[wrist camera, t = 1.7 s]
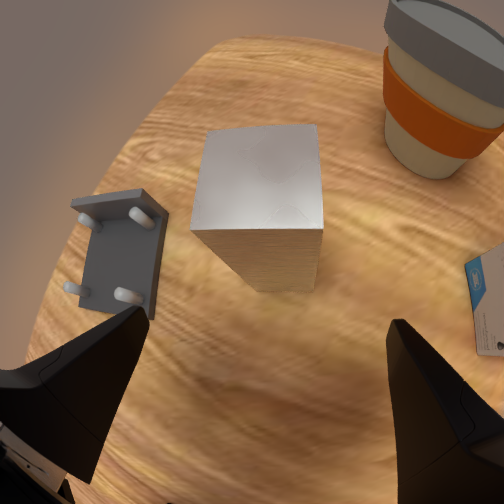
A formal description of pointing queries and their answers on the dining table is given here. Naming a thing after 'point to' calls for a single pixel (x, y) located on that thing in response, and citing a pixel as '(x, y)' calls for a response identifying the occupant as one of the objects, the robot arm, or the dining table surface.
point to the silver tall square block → (262, 204)
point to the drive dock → (121, 251)
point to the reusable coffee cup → (440, 86)
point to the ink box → (488, 300)
